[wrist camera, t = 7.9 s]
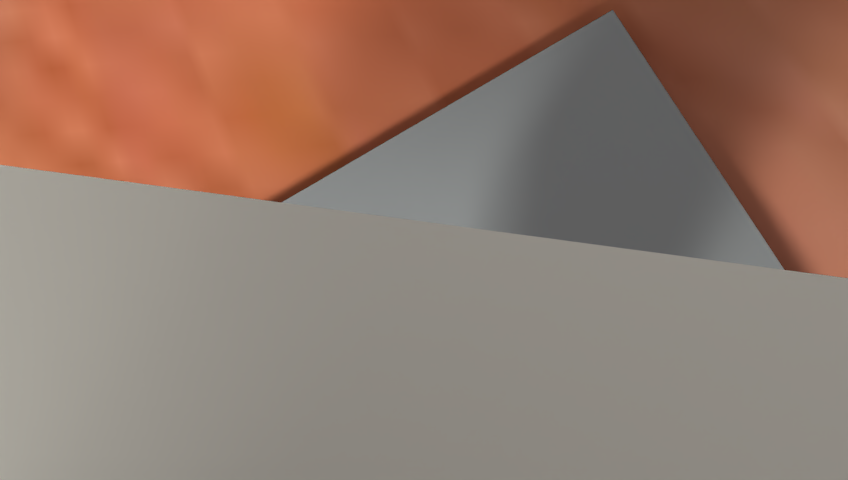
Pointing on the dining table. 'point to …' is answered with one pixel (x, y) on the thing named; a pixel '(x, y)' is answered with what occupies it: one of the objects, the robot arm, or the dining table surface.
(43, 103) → the dining table surface
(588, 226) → the rubber mat
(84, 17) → the dining table surface
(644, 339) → the tall block
